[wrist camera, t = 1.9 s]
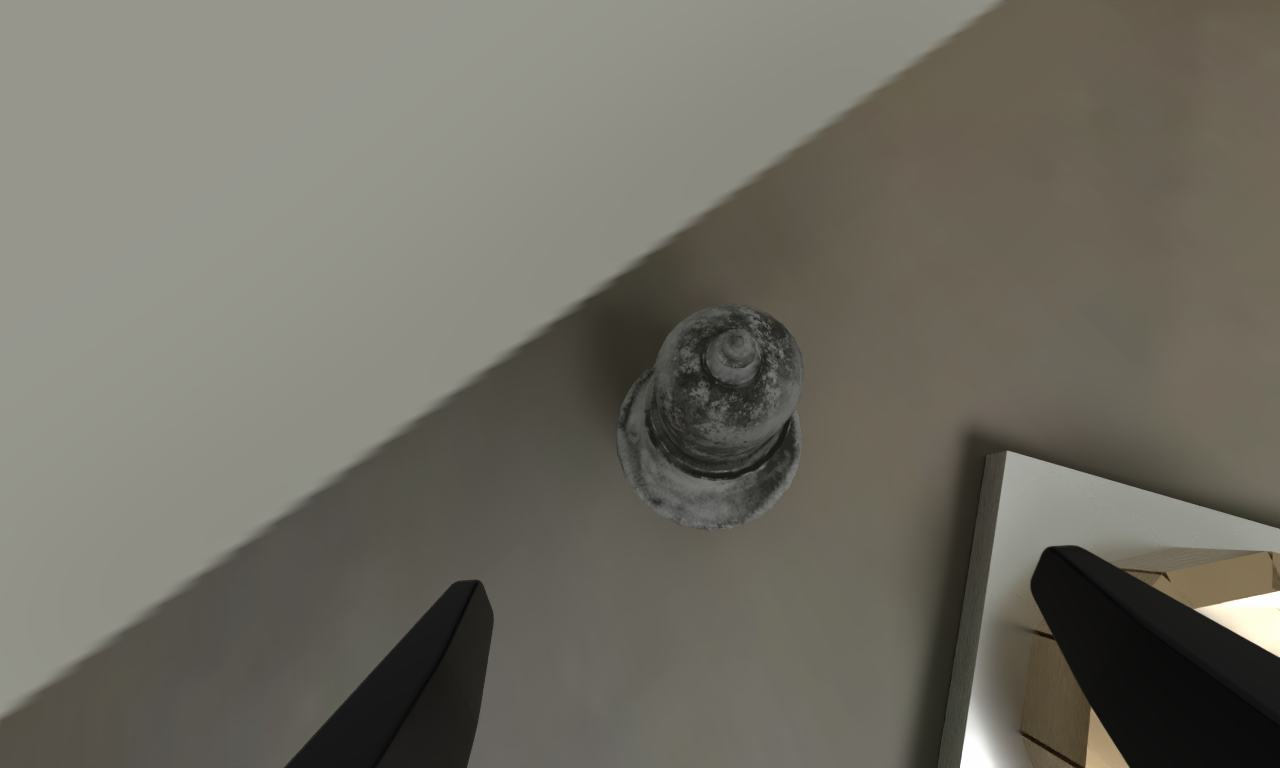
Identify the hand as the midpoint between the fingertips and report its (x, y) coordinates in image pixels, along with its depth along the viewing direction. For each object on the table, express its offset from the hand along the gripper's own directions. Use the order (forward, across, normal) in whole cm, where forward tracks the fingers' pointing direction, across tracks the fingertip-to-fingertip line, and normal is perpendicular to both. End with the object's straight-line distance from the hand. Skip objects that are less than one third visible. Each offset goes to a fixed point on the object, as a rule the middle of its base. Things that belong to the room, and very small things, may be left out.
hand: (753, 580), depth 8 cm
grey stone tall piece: (+10, 0, +5) cm, 11 cm away
